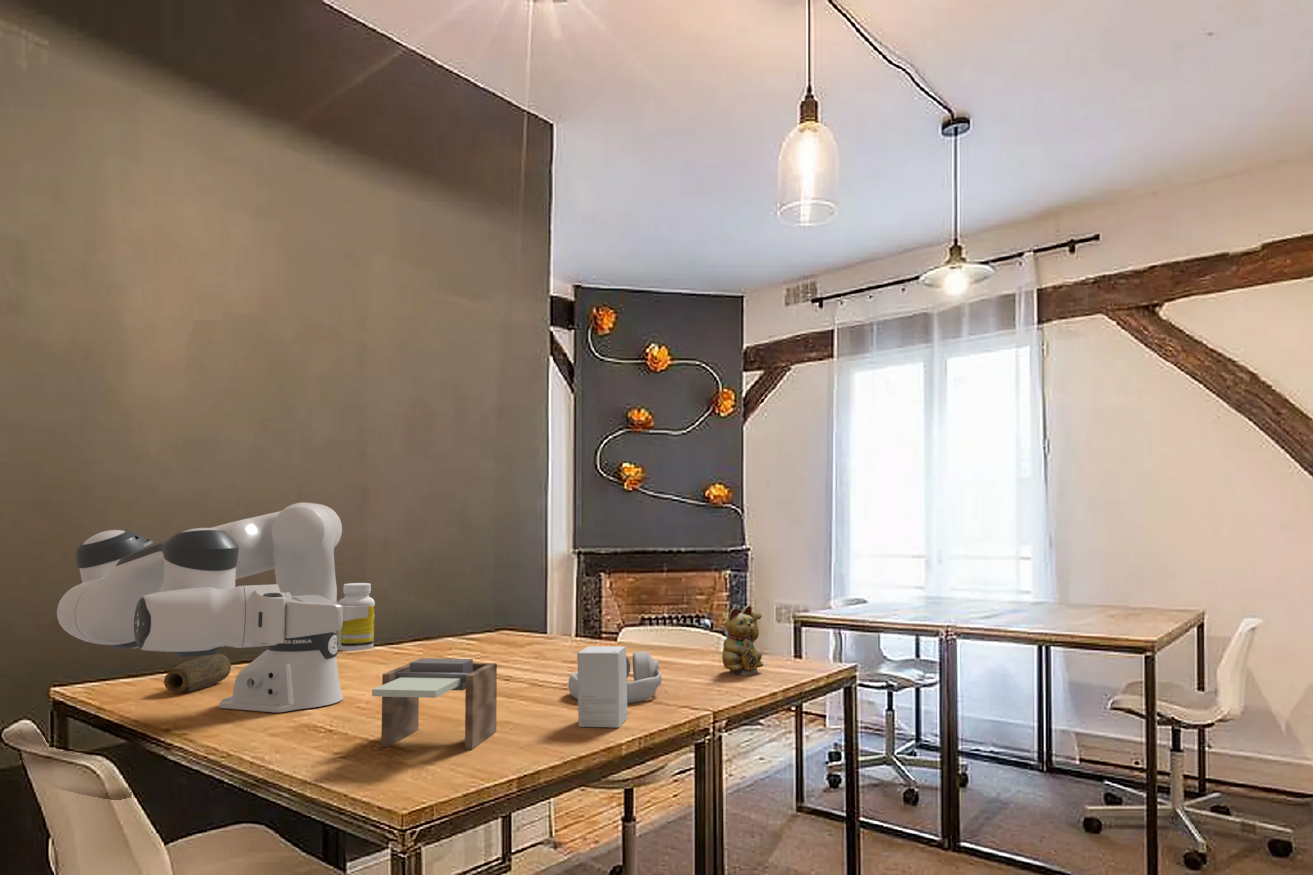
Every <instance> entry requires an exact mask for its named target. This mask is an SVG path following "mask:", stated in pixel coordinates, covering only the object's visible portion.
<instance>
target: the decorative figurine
mask: <svg viewBox="0 0 1313 875" xmlns="http://www.w3.org/2000/svg"><path fill="white" fill-rule="evenodd" d="M761 618H763V615H762V614H761V613H760V612H759V611H752V606H750V605H747V606H744V607H743V609H742V610H741V612H740V613H739V609H738V608H735V607H734V608H732V609H731V610H730V611H729V613H728V618H727V619H726V620H725V630H726V631H727V637H726V639H724V641H723V647H722V648H723V649H722V655H721V658H722V664H723V667H724V668H725V669H727V670H729V673H731V674H734V675H737V676H750V675H756V674H758V668H762V667H764V663H763V662H762V661H761V660H762V658H763V653H762V650H761V649H759V648H757V647H756V646H755V644H754V643H755V642H756V640H758V638H759V635H760V629H759V625H758V620H760V619H761Z"/></svg>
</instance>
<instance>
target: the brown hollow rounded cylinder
mask: <svg viewBox="0 0 1313 875" xmlns="http://www.w3.org/2000/svg"><path fill="white" fill-rule="evenodd" d="M231 669H232V662H231V660H230V659H229V658H228V657H227V656H226V655H225V654H222V653H216V654H215V655H203V656H198V657H195V658H192V659H190V660H187V661H184V662H182V663H180V664H178V665H175V666H174V667H173V668H171V669H170V670H169V671H168V673H167V674H166V675H165V676H164V680H163V685H164V686H165V688H166V690H168V691H169V692H172V693H175V694H176V693H189V692H193V691H199V690H201V689H204V688H208V687H211V686H213V685H215V684H217V683H219V682H222V681H223V680H225V679H226V678H227V677H228V676H229V675H230V674H231V671H232V670H231Z"/></svg>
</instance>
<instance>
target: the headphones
mask: <svg viewBox="0 0 1313 875" xmlns="http://www.w3.org/2000/svg"><path fill="white" fill-rule="evenodd" d="M659 667H660V666H659V661H658V659H655V658H653V657H652V655H650V653H649V652H648V651H634V652H633V653H632V675H633V681H628V682H627V705H628V704H635V703H641V702H644V701H647V700H648V699H651V698H652V697H653V696H654V695H655V693H656V691H657V689H658V688H659V686H661V684H662V680H663V679H662V674H661V672H660V668H659ZM626 672H627V679H628V678H629V677H630V673H631V662H630V658H629V657H628V655H627V654H626ZM568 690H569V693H570V695H571V696H572V697H573V698H574V699H576V700H578V670H576V671H574V672H573V673H571V674H570V675H569V678H568Z"/></svg>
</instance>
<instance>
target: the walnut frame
mask: <svg viewBox="0 0 1313 875" xmlns="http://www.w3.org/2000/svg"><path fill="white" fill-rule="evenodd" d="M410 663H411V662H408V663H407V664H405V665H402V666H399V667H397V668H394V669H392V670H390V671H386V672H384V673H382V678H381V679H382V681H381V682H382V683H381V684H382V685H384V684H386V683H389V682H391V681H393V680H396V673H397V672H410ZM497 666H498V664H497V663H492V662H490V663H489V662H487V663H486V662H483V663H482V662H473V672H472V673H470V674H468V675H466V687H465V689H464V691H465V695H464V696H465V699H464V701H465V707H464V708H465V711H464V718H465V719H464V722H465V724H464V730H465V731H464V749H465V750H471V751H472V750H474V749H475V748H476V747H478V746H479V745H481V744H482V743H483V742H485V741H487V739H488V738H490V737H491V736H493V735H494V734H495V733H496V732H497V694H498V693H497V685H498V684H497V679H498V678H497V677H498V676H497V675H498V674H497V673H498V672H497V671H498V667H497ZM419 699H420V697H381V735H380V736H381V742H380V743H381V745H380V747H381V748H389V747H391V746H392V745H394V744H396V743H398V742H400V741H401V740H403V739H404V738H406V737H408V736H410V735H411V734H413V733H415V732H417V731H418V730H419V715H420V714H419V710H420V708H419V707H420V706H419V703H420V702H419V701H420V700H419Z"/></svg>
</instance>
